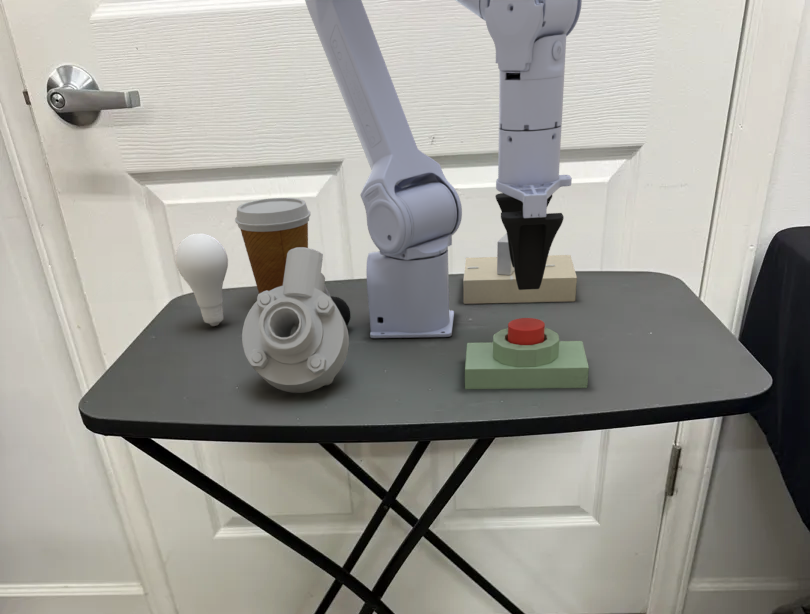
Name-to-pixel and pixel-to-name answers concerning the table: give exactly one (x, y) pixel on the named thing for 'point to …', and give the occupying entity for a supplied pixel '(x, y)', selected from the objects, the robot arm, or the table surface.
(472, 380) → the button box
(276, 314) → the centrifugal pump
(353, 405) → the table surface
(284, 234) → the disposable coffee cup
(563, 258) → the tan base
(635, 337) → the table surface
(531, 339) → the button
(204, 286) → the lightbulb
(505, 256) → the red-topped grey block
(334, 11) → the robot arm
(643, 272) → the table surface
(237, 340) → the table surface
